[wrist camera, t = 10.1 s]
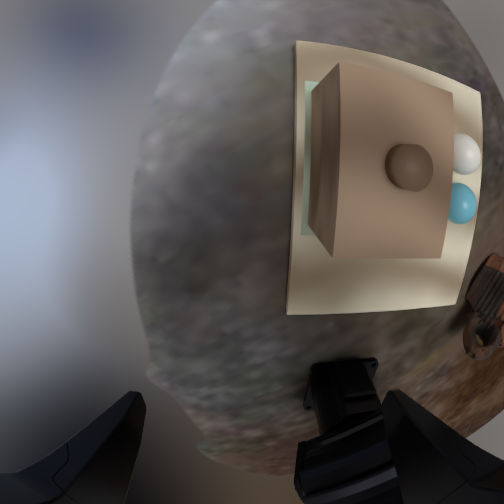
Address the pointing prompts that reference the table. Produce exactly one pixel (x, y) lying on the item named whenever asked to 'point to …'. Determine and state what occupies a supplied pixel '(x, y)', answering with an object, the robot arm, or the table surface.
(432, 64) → the table surface
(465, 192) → the marble teal
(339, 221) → the walnut cover
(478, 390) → the table surface
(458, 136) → the marble ivory
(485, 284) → the pottery mug
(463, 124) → the serving board
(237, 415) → the table surface
